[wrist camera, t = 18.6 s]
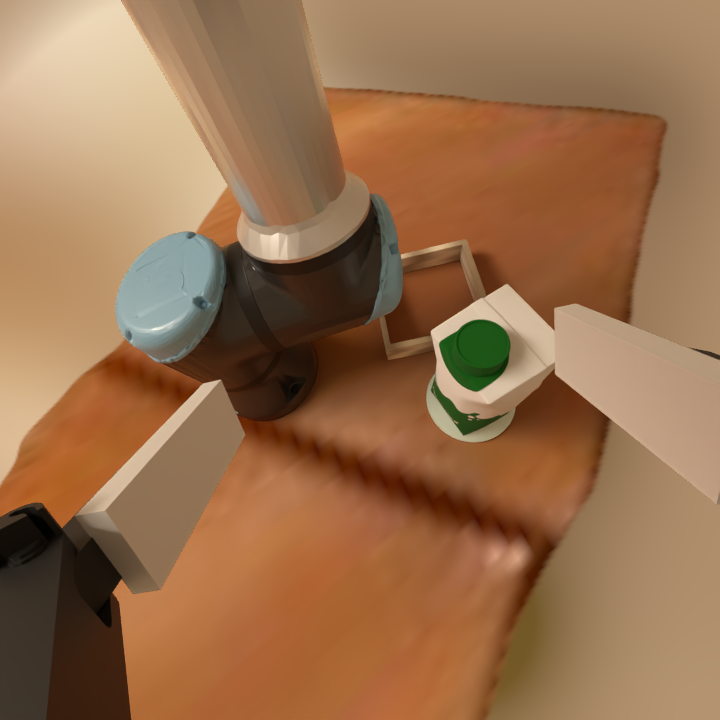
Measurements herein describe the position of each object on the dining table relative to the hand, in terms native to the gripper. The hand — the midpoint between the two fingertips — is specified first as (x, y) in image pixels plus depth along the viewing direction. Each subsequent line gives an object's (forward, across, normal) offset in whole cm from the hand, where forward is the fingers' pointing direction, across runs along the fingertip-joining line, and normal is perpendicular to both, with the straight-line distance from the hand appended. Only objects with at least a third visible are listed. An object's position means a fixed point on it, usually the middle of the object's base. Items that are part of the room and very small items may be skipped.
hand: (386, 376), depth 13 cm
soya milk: (+26, +9, -18) cm, 33 cm away
